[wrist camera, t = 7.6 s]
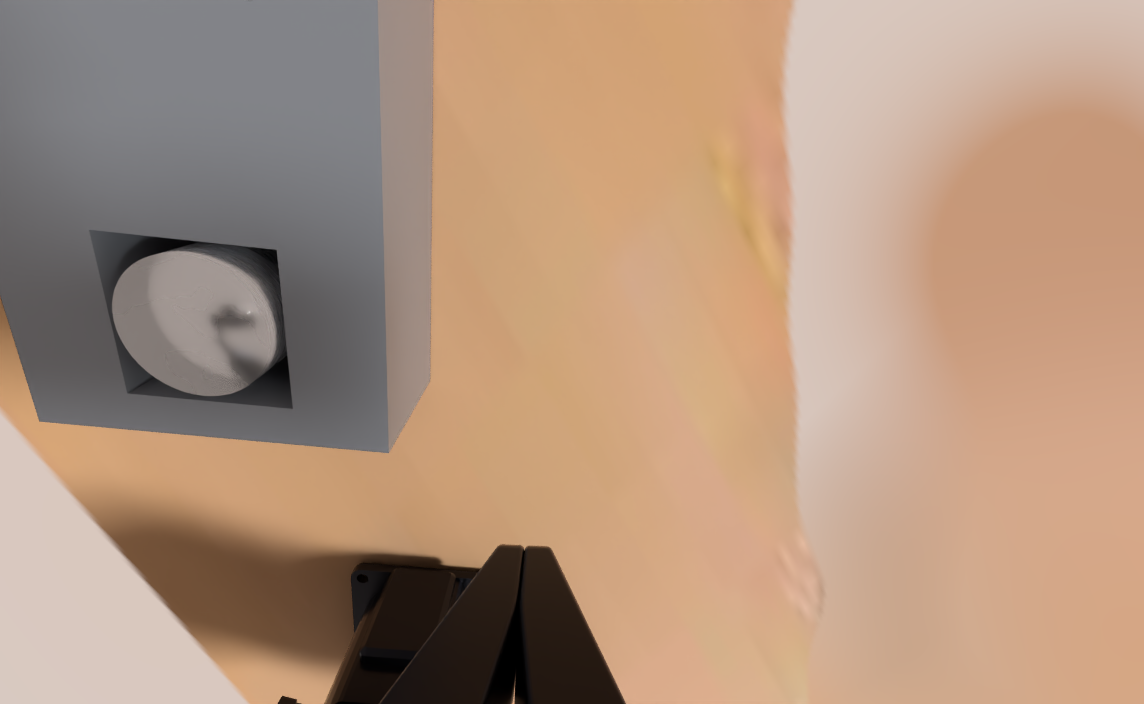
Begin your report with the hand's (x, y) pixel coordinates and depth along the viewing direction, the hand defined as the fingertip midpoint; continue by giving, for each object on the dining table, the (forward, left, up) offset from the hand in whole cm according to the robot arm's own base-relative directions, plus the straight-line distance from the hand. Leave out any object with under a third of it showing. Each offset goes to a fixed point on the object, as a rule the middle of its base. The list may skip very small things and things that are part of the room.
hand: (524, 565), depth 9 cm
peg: (+1, +9, -12) cm, 15 cm away
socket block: (+6, +9, -12) cm, 16 cm away
